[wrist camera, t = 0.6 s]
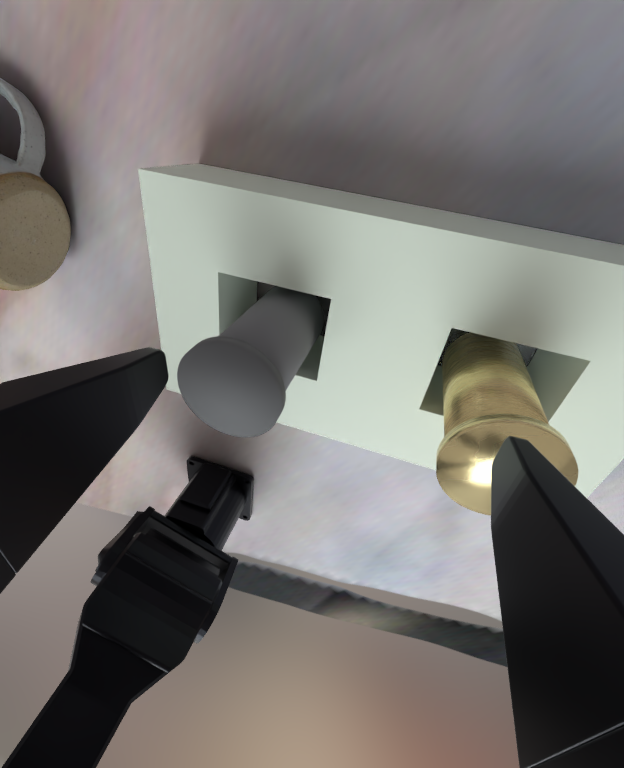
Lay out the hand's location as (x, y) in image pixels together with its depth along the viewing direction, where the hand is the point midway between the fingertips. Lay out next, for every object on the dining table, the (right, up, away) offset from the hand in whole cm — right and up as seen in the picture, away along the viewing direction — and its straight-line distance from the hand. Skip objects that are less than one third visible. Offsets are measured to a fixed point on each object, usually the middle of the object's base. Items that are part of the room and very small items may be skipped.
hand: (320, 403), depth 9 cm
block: (+4, +4, +12) cm, 13 cm away
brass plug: (+8, +2, +9) cm, 12 cm away
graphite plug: (-1, +4, +10) cm, 11 cm away
